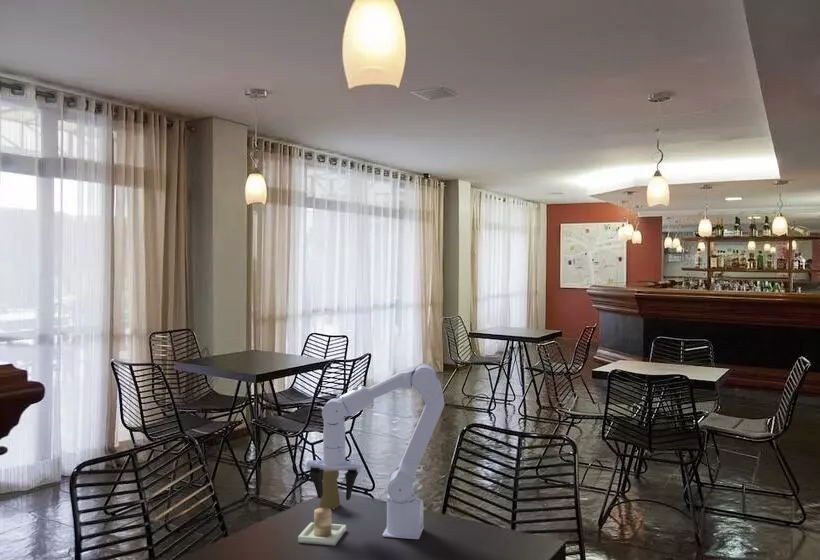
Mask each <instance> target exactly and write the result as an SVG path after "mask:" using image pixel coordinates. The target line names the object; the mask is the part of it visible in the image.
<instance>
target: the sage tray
mask: <svg viewBox="0 0 820 560" xmlns="http://www.w3.org/2000/svg"><path fill="white" fill-rule="evenodd" d="M346 531H347V524H341V523H340V524H339V523H338V524H337V523H331V535H330V536H329V537H315V536H314V521H313V522H312V521H311V522H309V523H308V525H307V526H306V527H304V529H303V530H302V532H300V534H298V536H297V544H298V543H300V544H312V545H323V546H326V545H327V546H334V547H335V546H336V545H337V544H338V542H339V541H340V539H341V538H342V537H343V535H345V533H346Z"/></svg>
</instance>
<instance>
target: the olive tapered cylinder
mask: <svg viewBox="0 0 820 560" xmlns="http://www.w3.org/2000/svg"><path fill="white" fill-rule="evenodd" d="M339 475H340V471H339V470H324V471H323V496H322V497H321V498H319V505H318V506H320V507H321V508H329V509H332V510H334V509H333V508H336V509H338V508H337V507H339V506H340V507H341V501H340V493H339V484H338V479H339ZM320 507H319V508H320ZM340 507H339V508H340Z"/></svg>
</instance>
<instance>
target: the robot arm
mask: <svg viewBox="0 0 820 560" xmlns="http://www.w3.org/2000/svg"><path fill="white" fill-rule="evenodd" d="M400 388H401V389H402V388H403V389H408V390H412V388H414V389H415V390H416V391H417V392H418V393H419V394H420V396H421V398H422V399H423V402H424V407H423V409H422V412H421V414H420V417H419V419H418V421H417V424H416V426H415V429H414V431H413V433H412V435H411V438H410V440H409V442H408V444H407V447H406V449H405V452H404V454H403V456H402V458H401V460H400V462H399V464H398V466H397V467H396V468H395V469H394V470H392V471H391V473H390V476H389V482H388V486H387V493H388V494H387V495H386V527H385V529H384V531H383V532H382V537H383V538H398V539H409V540H419V539H420V537H421V536H422V533H423V530H424V528H425V526H424V501H423V499H422V498H416V497H415V494H414V493H413V483H414V481H415V480H414V479H415V478H416V474H417V472H418V468H419V465H420V463H421V461H422V458H423V456H424V455H425V452H426V450H427V447H428V445H429V443H430V440H431V438H432V436H433V434H434V430H435V429H436V426H437V424H438V422H439V419H440V418H441V417H440V416H441V414H442V413H443V409H444V408H445V397H444V394H443V388H442V384H441V379H440V375H439V374H438V372H437V370H436V369H435V367H434V366H433V365H432V364H431V363H426V362H422V363H419V364H417V366H411V367H408V368H406V369H403V370H400V371H398V372H397V373H395V374H393V375H391V376H388V377H387V378H385V379H383V380H382V381H379V382H377V383H376V384H373V385H372V386H370V387H367V386H365V385H360V386H359V385H355V386H353V387H352V388H351V389H352V390H350V391H347V392H346V393H343V394H342V395H341V394H337V395H336V398H331V399H329V400H328V401H327V402H326V403H325V404H324V406H323V407H322V410H321V417H322V419H323V429H322V432H323V434H322V435H323V436H322V442H323V444H322V450H323V453H322V454H323V456H322V457H323V459H319V460H318V459H317V460H313V459H312V460H311V459H309V460H308V461H307V462H306V470H307V471H310V472H309V474H308V475H309V477H310V479H311V481H312V482H313V486H314V487H315V492H316V495H317V499H320V498H321V497H322V496H323V471H324V470H338V471H339V472H341V471H342V472H346V473H345V474H344V476H345V478H344V479H345V489H346V490H345V493H346V494H345V500H346V501H350V499H351V498H352V493H353V492H352V491H353V488H354V485H355V482H356V479H357V477H358V475H359V473H361V472H362V471H363V462H356V461H350V460H346V426H345V423H346V422H345V421H346V419H345V417H350V416H352V415H354V414H357V413H359V412H360V411H362V410H365V409H367V408H370V407H371V406H372V404H373V401H374V399H377V398H379V397H382V396H384V395H386V394H389V393H390V392H391V393H392V392H393V391H396V390H397V389H400Z"/></svg>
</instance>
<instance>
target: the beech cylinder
mask: <svg viewBox="0 0 820 560" xmlns="http://www.w3.org/2000/svg"><path fill="white" fill-rule="evenodd" d="M313 522H314V536H315V537H329V536H330V535H331V524H332V510H331V509H329V508H320V507H318V508H316V509H314V510H313Z"/></svg>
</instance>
